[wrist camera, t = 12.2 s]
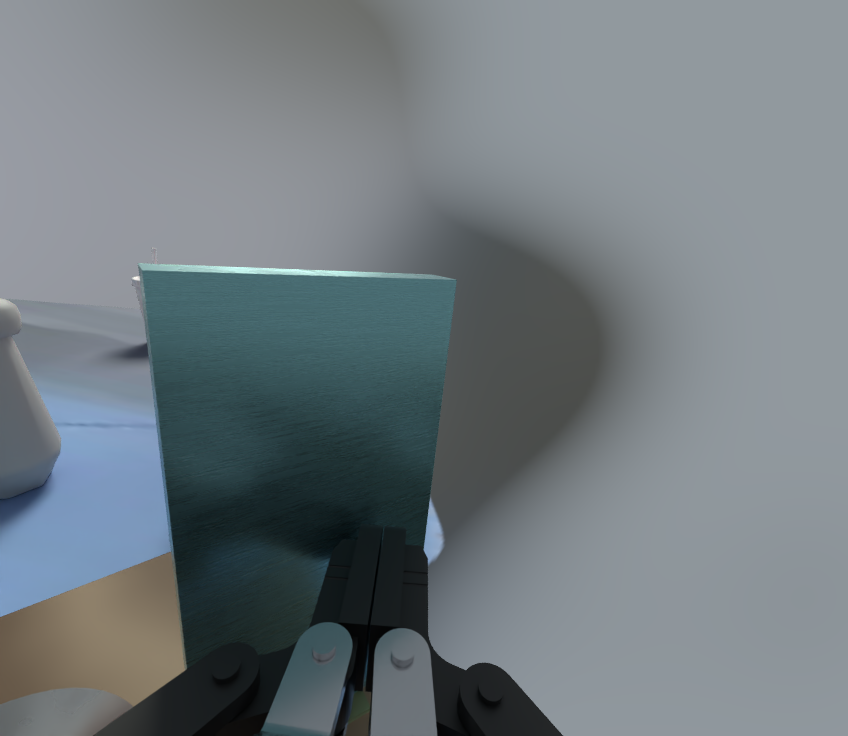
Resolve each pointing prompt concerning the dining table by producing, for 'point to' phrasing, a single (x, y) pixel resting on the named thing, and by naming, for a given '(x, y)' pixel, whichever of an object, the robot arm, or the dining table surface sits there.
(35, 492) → the dining table surface
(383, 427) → the teal flat rectangular slab
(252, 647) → the robot arm
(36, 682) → the wooden cutting board
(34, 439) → the salt shaker
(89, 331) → the dining table surface
